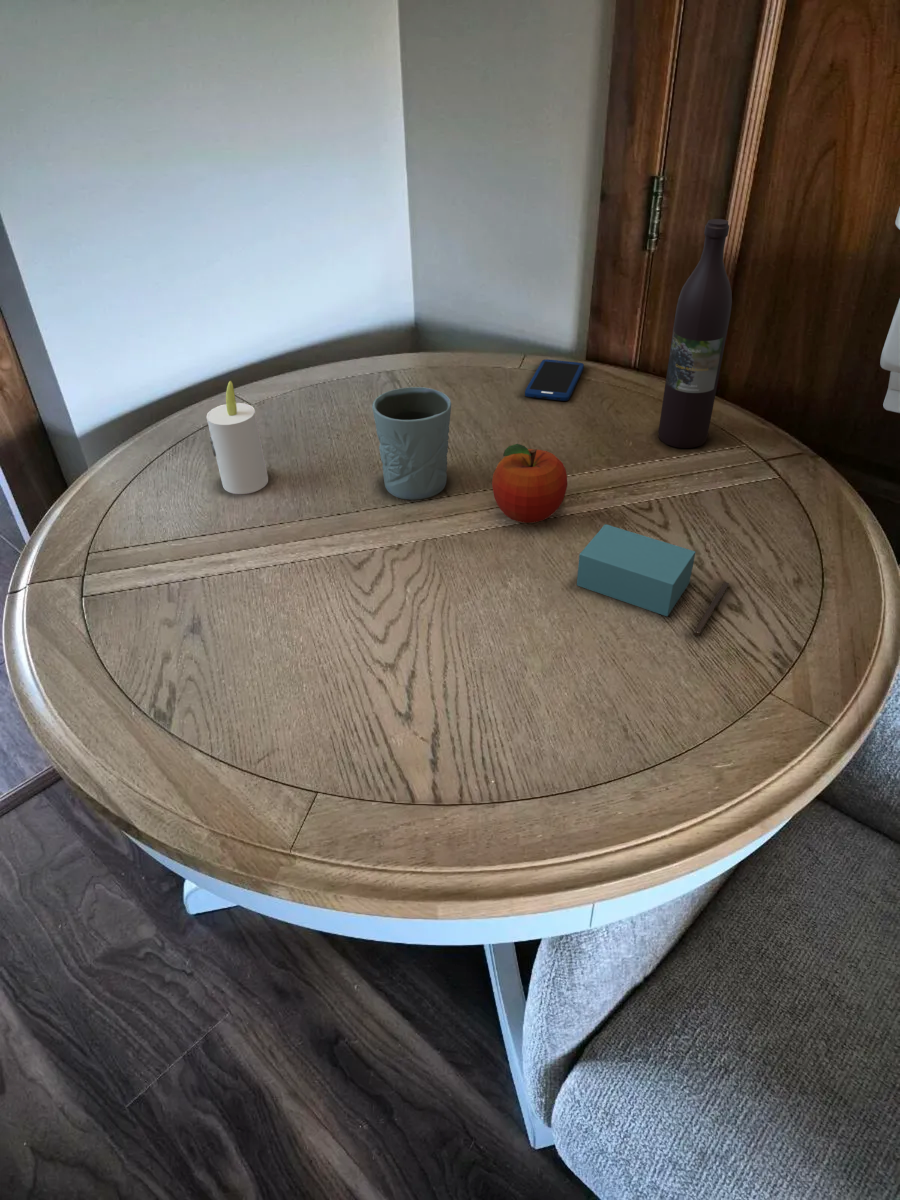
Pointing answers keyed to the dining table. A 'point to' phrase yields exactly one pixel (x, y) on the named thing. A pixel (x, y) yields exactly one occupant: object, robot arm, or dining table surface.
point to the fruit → (529, 484)
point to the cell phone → (554, 380)
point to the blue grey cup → (413, 440)
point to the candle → (237, 445)
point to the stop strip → (711, 609)
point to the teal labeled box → (635, 569)
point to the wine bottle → (697, 345)
